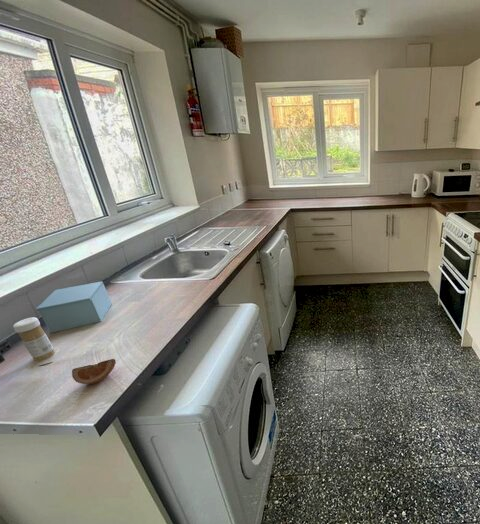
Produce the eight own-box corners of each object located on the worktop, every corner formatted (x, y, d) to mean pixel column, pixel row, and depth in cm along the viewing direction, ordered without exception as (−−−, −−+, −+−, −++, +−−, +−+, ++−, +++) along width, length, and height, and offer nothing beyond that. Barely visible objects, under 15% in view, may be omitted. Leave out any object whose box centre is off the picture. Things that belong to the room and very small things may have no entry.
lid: (90, 300, 95) (89, 298, 95) (36, 311, 90) (35, 309, 90) (103, 283, 107) (102, 281, 107) (56, 291, 102) (55, 289, 102)
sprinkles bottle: (52, 354, 84) (30, 315, 79) (62, 357, 82) (41, 318, 77) (32, 365, 80) (8, 325, 75) (42, 368, 78) (18, 327, 73)
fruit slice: (122, 365, 78) (116, 351, 76) (116, 382, 72) (108, 367, 71) (84, 376, 75) (76, 361, 73) (74, 394, 69) (65, 379, 67)
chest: (101, 321, 99) (91, 299, 96) (50, 332, 94) (37, 310, 91) (111, 303, 111) (103, 283, 107) (67, 313, 106) (56, 292, 102)
